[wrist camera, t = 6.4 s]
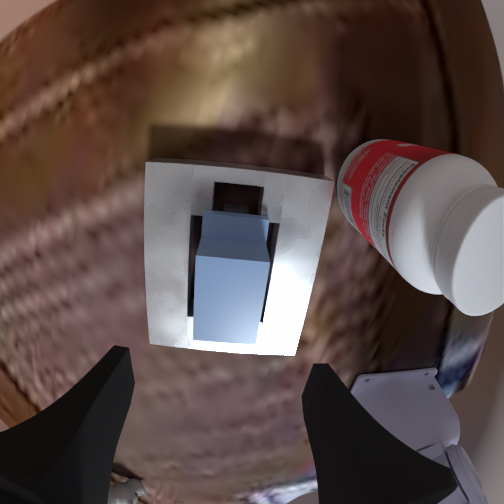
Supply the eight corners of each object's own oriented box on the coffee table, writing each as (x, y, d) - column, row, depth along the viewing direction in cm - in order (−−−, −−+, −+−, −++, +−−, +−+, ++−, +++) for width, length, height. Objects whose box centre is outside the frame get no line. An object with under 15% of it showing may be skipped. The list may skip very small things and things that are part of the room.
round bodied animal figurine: (137, 473, 37) (151, 517, 31) (67, 473, 31) (76, 519, 25) (141, 459, 35) (156, 509, 28) (62, 457, 28) (71, 511, 22)
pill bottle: (432, 175, 18) (557, 234, 8) (384, 247, 20) (480, 350, 10) (367, 117, 16) (504, 131, 6) (314, 199, 18) (400, 297, 8)
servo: (207, 199, 18) (197, 228, 13) (265, 205, 18) (274, 236, 14) (200, 307, 21) (192, 357, 16) (249, 312, 21) (252, 361, 17)
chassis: (324, 175, 18) (334, 181, 16) (290, 337, 22) (294, 355, 21) (155, 157, 17) (145, 161, 15) (155, 326, 21) (149, 343, 20)
